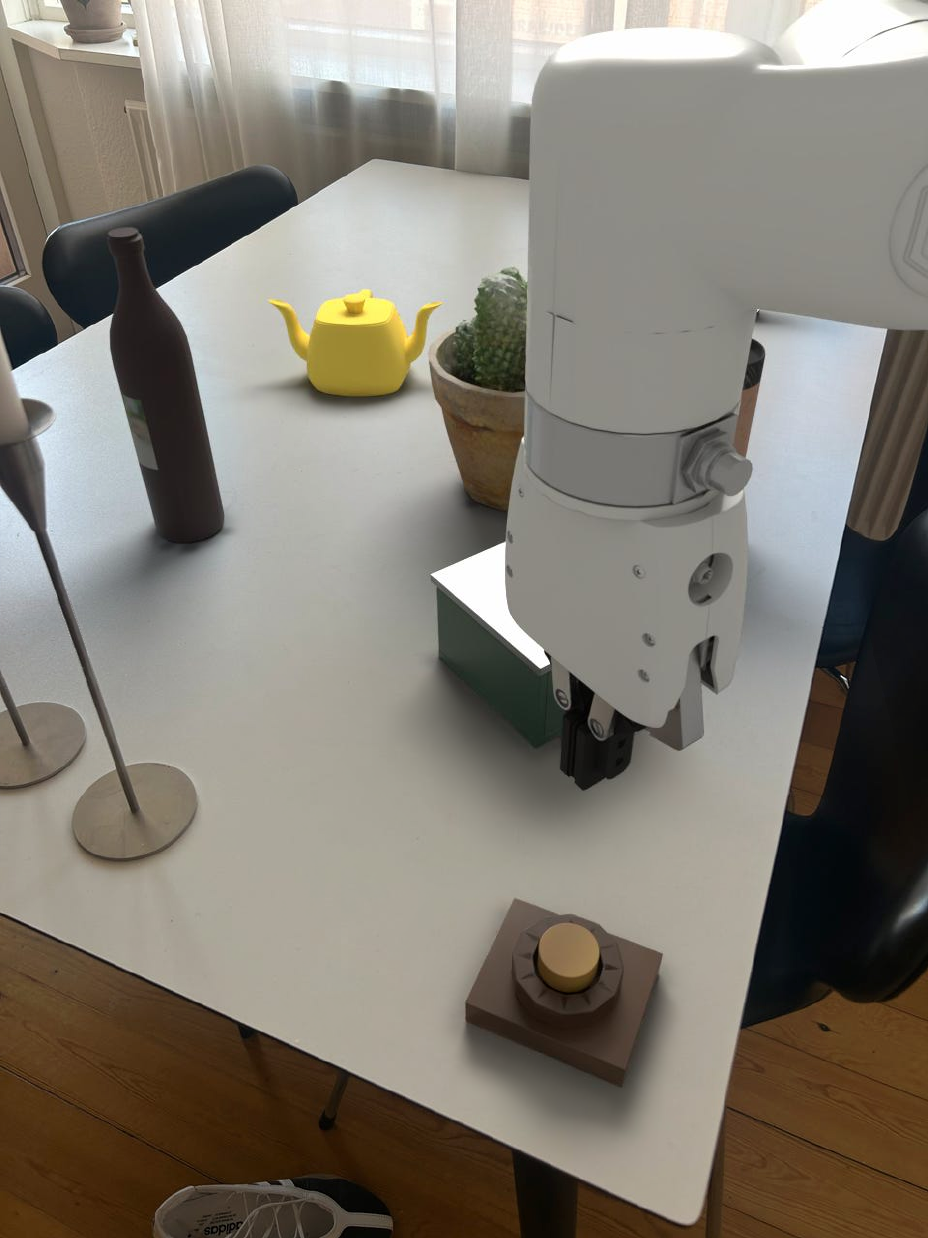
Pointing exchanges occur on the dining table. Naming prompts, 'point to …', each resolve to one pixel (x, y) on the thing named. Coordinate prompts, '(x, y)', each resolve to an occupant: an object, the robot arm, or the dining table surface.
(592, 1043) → the button block
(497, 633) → the tin lid
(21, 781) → the dining table surface
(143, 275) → the wine bottle
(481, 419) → the potted plant
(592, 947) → the button
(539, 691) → the tin
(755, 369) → the travel mug
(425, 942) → the dining table surface
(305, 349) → the teapot
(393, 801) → the dining table surface
